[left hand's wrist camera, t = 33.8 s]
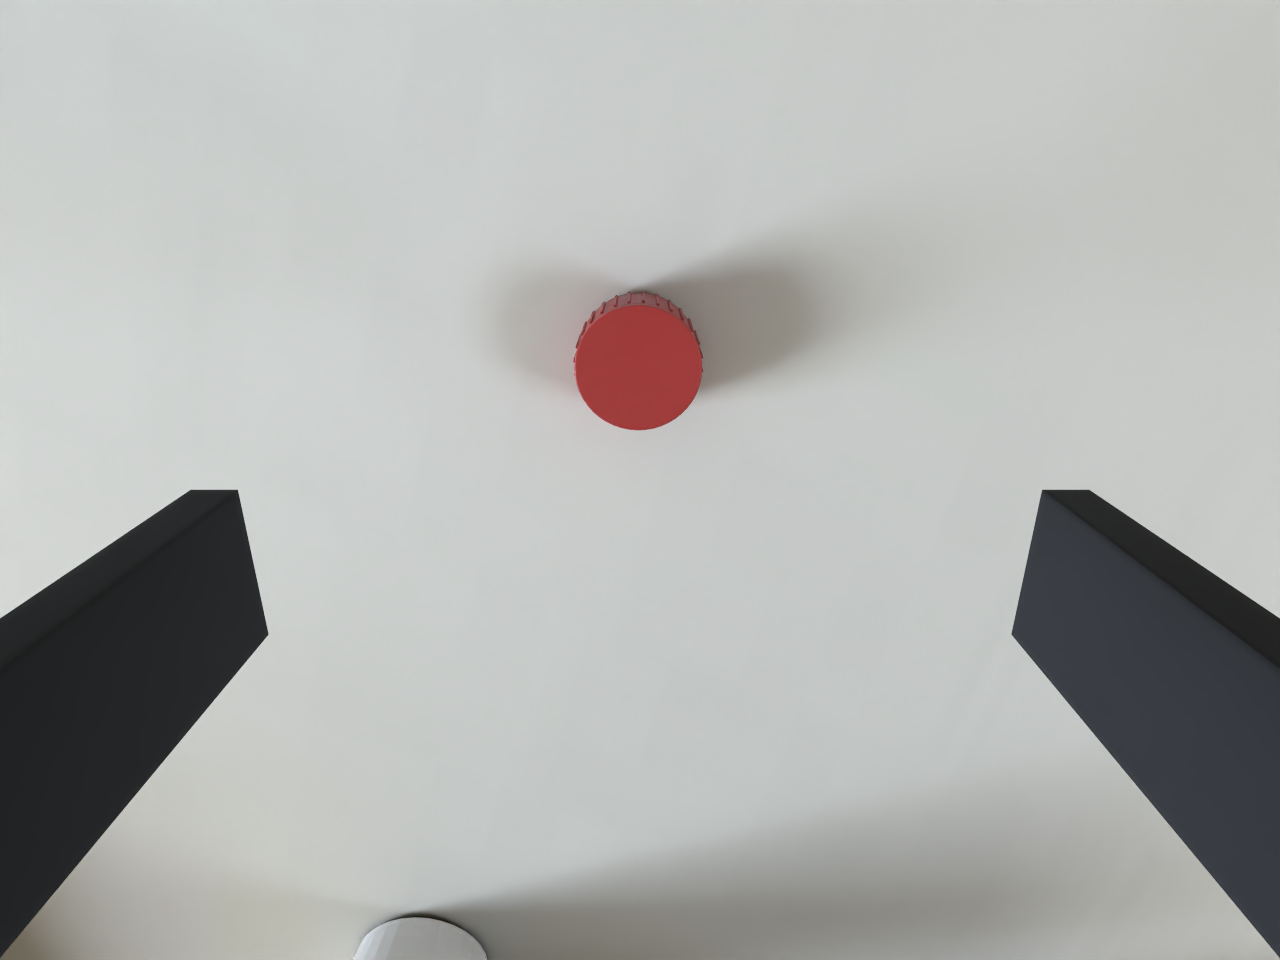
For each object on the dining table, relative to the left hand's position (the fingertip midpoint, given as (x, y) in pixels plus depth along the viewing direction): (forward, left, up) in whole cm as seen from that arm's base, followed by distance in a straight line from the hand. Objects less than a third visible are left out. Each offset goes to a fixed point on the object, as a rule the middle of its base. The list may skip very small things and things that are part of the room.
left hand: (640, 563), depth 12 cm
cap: (0, 0, -11) cm, 11 cm away
